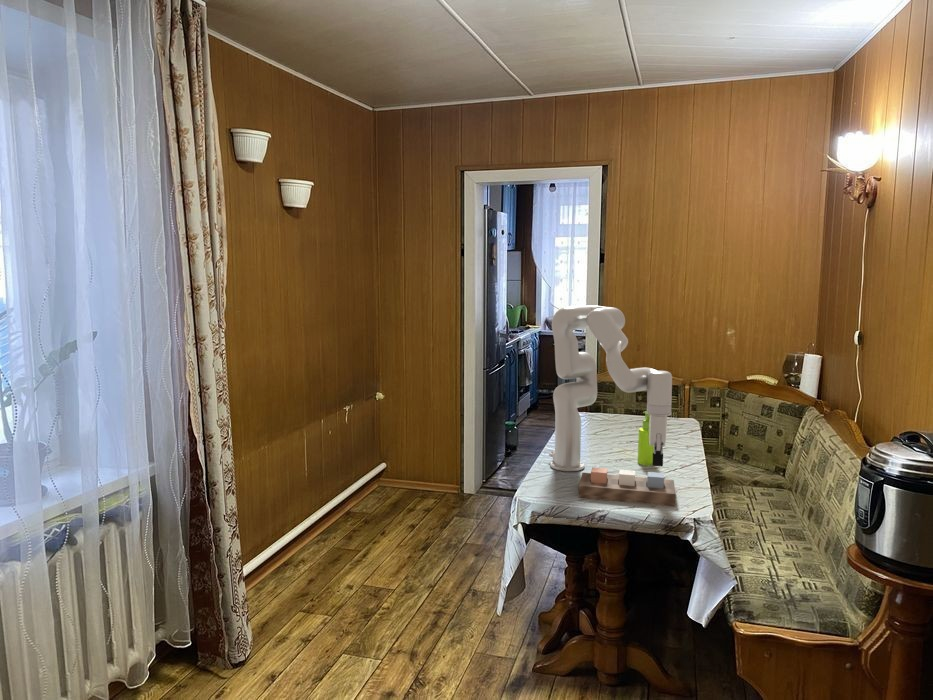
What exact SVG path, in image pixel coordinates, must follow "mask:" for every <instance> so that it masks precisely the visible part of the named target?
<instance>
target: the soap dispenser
mask: <svg viewBox="0 0 933 700" xmlns="http://www.w3.org/2000/svg"><path fill="white" fill-rule="evenodd" d="M642 413H643V414H645V415H644V419H642V426H641V427H639V428H638V444H637V445H638V447H637V463H638V464H640V465H642V466H653V453H654V445H651V446H650V445H649V423H650V415H648V414H647V410H645V411H643V412H642Z"/></svg>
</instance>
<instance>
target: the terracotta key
mask: <svg viewBox="0 0 933 700" xmlns="http://www.w3.org/2000/svg"><path fill="white" fill-rule="evenodd" d="M590 473H591V482H592V483H604V484H606V483H607V475H608V468H605V467H604V468H603V467H595V466H592V467H591V471H590Z"/></svg>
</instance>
